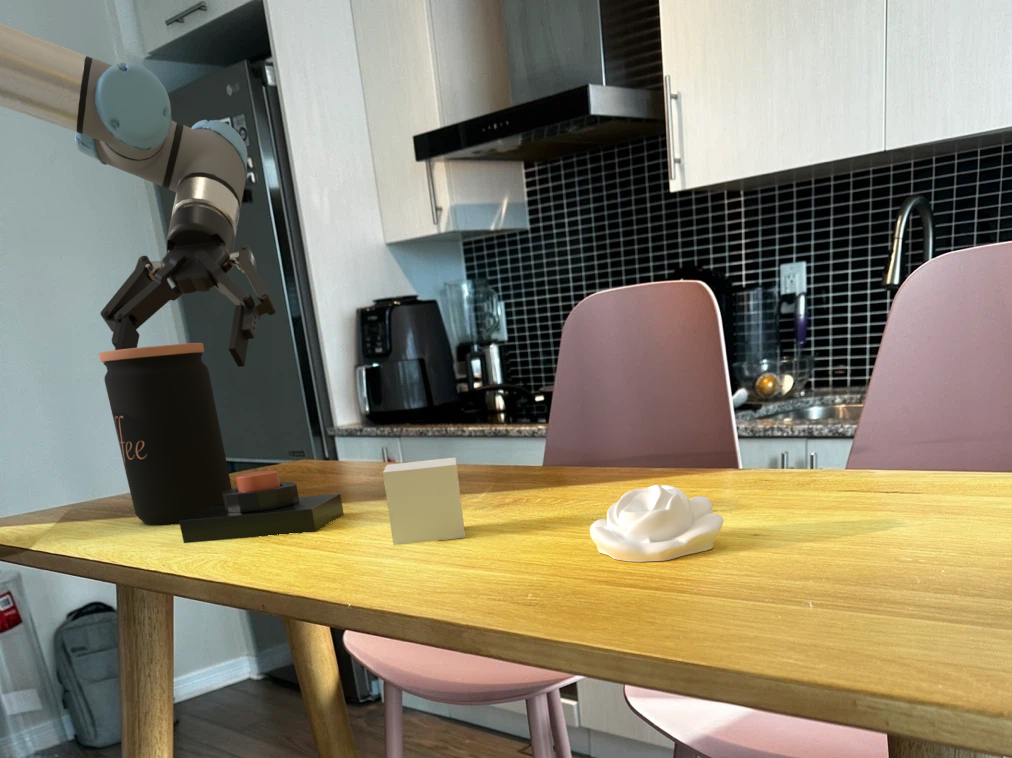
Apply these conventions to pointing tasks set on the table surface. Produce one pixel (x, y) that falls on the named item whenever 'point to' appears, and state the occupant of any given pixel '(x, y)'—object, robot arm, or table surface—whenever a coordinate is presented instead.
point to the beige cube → (424, 501)
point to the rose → (656, 525)
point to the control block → (262, 514)
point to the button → (257, 481)
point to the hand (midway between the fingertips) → (178, 364)
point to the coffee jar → (167, 430)
